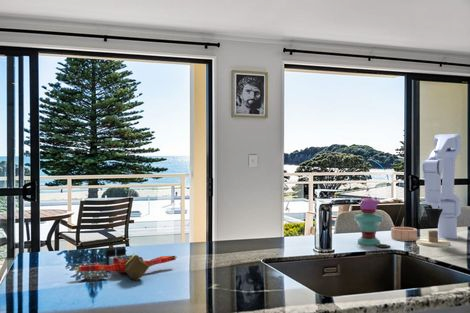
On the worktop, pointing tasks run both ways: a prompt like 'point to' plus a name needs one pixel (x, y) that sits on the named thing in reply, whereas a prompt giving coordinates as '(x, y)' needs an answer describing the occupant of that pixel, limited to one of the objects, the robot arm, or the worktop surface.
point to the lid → (433, 240)
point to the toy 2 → (368, 222)
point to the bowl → (404, 233)
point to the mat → (428, 246)
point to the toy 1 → (125, 263)
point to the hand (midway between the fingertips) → (433, 225)
